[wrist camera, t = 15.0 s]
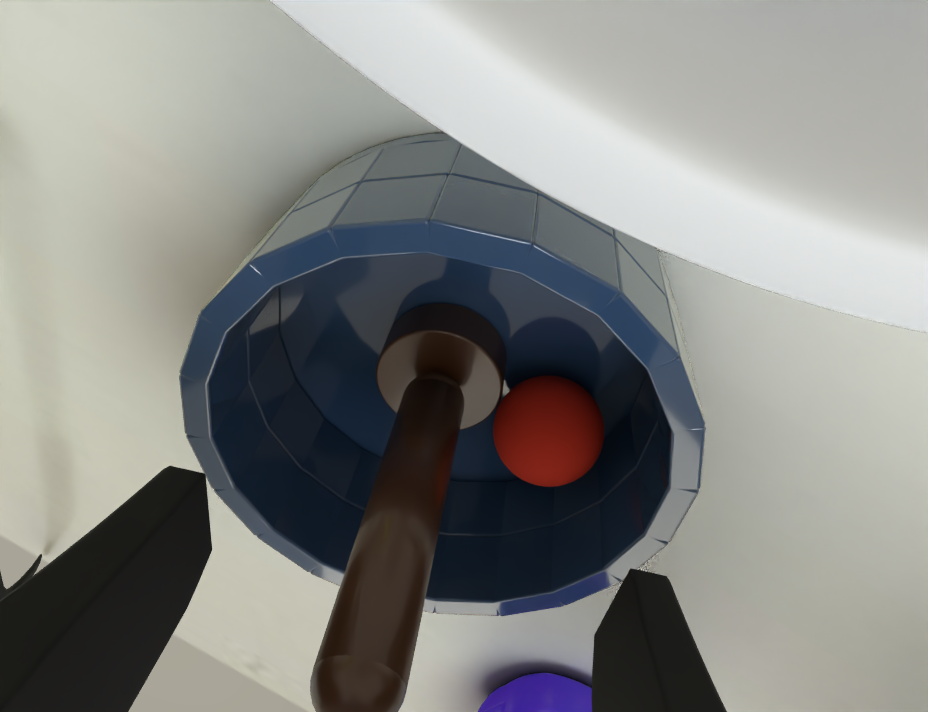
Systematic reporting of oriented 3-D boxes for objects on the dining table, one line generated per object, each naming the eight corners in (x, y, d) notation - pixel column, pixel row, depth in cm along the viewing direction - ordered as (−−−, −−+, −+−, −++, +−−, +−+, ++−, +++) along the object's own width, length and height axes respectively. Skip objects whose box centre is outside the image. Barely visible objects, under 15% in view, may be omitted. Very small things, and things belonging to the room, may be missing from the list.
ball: (555, 497, 17) (639, 471, 15) (480, 498, 15) (562, 470, 14) (537, 401, 18) (612, 366, 16) (463, 392, 16) (538, 352, 14)
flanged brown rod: (390, 396, 17) (260, 765, 10) (382, 297, 16) (219, 659, 8) (504, 406, 17) (453, 794, 10) (509, 307, 15) (453, 689, 8)
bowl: (666, 479, 19) (688, 624, 15) (323, 480, 21) (270, 609, 17) (684, 106, 13) (727, 196, 9) (206, 155, 15) (88, 245, 11)
